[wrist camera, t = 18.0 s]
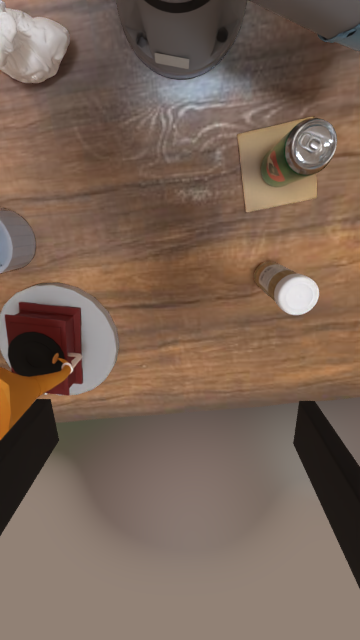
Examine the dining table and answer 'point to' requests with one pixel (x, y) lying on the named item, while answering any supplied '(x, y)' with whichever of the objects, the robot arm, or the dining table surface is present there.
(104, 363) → the gramophone
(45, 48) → the white rock
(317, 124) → the green can
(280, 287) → the sprinkles bottle
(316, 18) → the robot arm
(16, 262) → the grey cylinder
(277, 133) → the coaster
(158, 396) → the dining table surface
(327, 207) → the dining table surface
